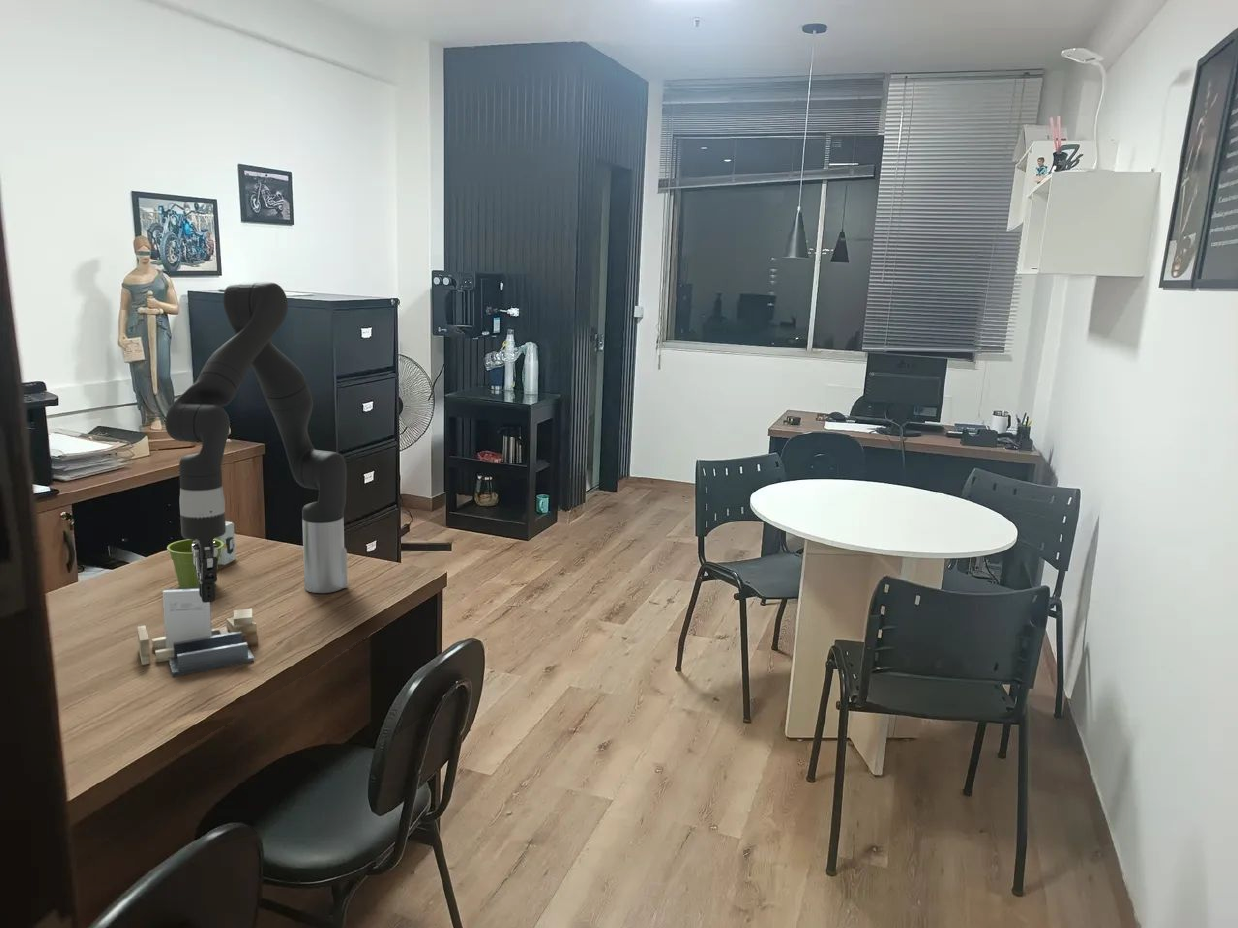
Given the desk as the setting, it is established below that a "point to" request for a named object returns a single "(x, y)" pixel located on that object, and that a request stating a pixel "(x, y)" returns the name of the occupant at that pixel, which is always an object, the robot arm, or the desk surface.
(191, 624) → the hard drive
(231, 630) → the offcut stack
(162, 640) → the frame
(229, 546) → the ink box
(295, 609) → the desk surface
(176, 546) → the plant pot
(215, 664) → the stand
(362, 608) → the desk surface
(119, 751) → the desk surface
